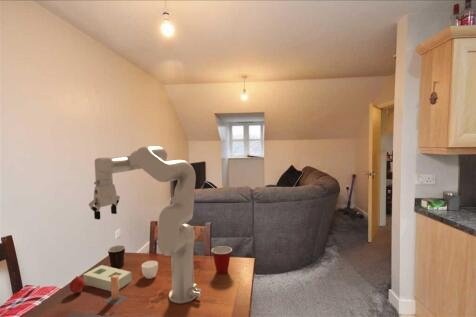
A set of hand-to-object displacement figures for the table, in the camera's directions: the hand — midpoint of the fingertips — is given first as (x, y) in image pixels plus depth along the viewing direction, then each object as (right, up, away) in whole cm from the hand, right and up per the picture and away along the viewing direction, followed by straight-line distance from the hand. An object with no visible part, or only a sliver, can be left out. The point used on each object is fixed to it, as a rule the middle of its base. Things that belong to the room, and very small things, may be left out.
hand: (106, 216), depth 128 cm
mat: (+13, -32, -18) cm, 39 cm away
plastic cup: (+58, -30, +6) cm, 66 cm away
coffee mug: (0, -31, +11) cm, 33 cm away
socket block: (+3, -32, -4) cm, 32 cm away
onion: (-7, -32, -12) cm, 35 cm away
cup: (+22, -31, +2) cm, 38 cm away
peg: (+13, -32, -18) cm, 39 cm away
